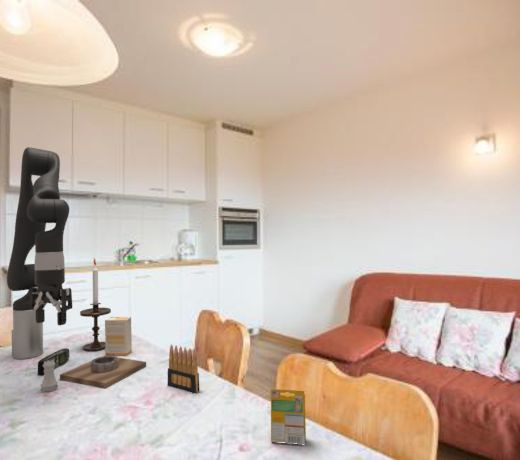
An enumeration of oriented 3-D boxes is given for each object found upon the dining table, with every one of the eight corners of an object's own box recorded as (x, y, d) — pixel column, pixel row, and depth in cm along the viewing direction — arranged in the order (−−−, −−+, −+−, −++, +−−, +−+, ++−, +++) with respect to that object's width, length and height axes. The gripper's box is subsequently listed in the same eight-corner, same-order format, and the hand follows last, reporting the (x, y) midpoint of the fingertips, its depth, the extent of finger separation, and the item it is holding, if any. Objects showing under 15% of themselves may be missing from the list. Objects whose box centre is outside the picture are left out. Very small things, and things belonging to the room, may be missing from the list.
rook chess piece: (61, 387, 107) (61, 359, 107) (48, 393, 103) (47, 365, 103) (50, 385, 108) (49, 358, 108) (36, 391, 104) (36, 363, 104)
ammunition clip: (199, 391, 103) (199, 348, 103) (195, 393, 102) (195, 350, 102) (171, 383, 109) (171, 343, 109) (167, 385, 107) (166, 344, 107)
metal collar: (85, 370, 115) (85, 362, 115) (104, 362, 122) (104, 354, 122) (105, 374, 112) (105, 366, 112) (123, 365, 120) (123, 357, 120)
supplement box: (132, 351, 137) (132, 316, 137) (126, 355, 133) (126, 319, 133) (111, 350, 138) (111, 316, 138) (104, 355, 133) (104, 319, 133)
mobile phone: (44, 361, 115) (73, 345, 130) (35, 361, 115) (65, 344, 130) (44, 377, 115) (73, 358, 130) (35, 376, 115) (65, 358, 130)
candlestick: (96, 353, 135) (95, 259, 135) (73, 350, 139) (72, 258, 139) (117, 345, 145) (116, 256, 145) (96, 342, 149) (95, 256, 149)
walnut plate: (59, 379, 112) (59, 374, 112) (104, 359, 129) (104, 355, 129) (105, 388, 106) (105, 383, 106) (146, 366, 122) (146, 361, 122)
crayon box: (305, 438, 80) (305, 385, 80) (305, 446, 77) (304, 391, 77) (272, 435, 81) (272, 383, 81) (270, 443, 78) (270, 389, 78)
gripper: (20, 268, 105) (21, 325, 105) (56, 269, 100) (57, 328, 100) (44, 266, 112) (45, 319, 112) (79, 266, 107) (80, 322, 107)
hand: (51, 323), depth 106 cm, fingers open, 8 cm apart
